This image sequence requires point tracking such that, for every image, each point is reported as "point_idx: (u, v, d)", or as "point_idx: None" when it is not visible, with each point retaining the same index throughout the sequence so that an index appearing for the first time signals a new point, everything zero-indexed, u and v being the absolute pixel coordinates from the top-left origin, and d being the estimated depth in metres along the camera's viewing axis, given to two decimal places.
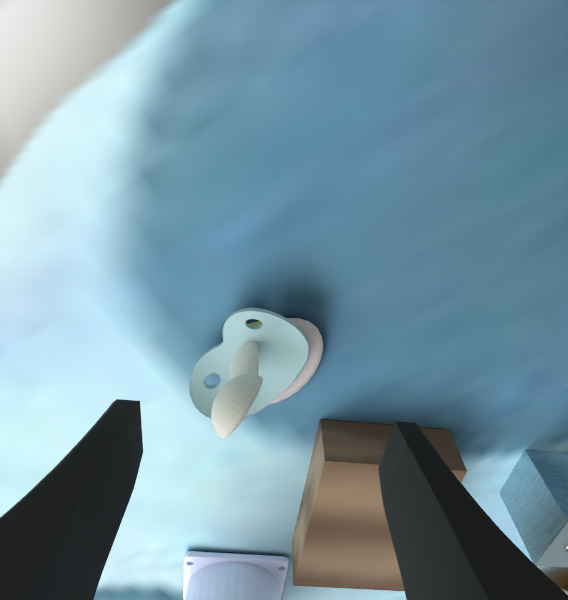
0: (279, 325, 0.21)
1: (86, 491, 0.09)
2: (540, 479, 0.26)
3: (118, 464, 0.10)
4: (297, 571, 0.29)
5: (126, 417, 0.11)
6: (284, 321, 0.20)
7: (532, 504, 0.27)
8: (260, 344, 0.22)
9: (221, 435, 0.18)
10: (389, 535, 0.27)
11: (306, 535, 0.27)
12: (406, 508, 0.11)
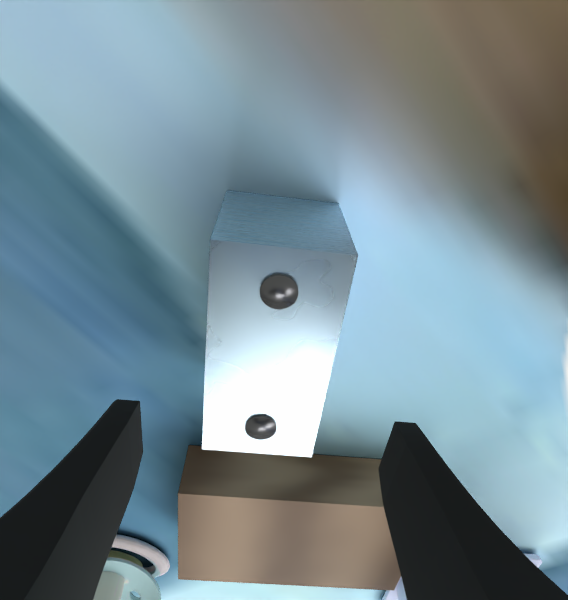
0: None
1: (86, 491, 0.09)
2: None
3: (118, 464, 0.10)
4: (365, 587, 0.26)
5: (126, 417, 0.11)
6: None
7: None
8: None
9: None
10: (299, 534, 0.23)
11: (297, 584, 0.26)
12: (406, 508, 0.11)
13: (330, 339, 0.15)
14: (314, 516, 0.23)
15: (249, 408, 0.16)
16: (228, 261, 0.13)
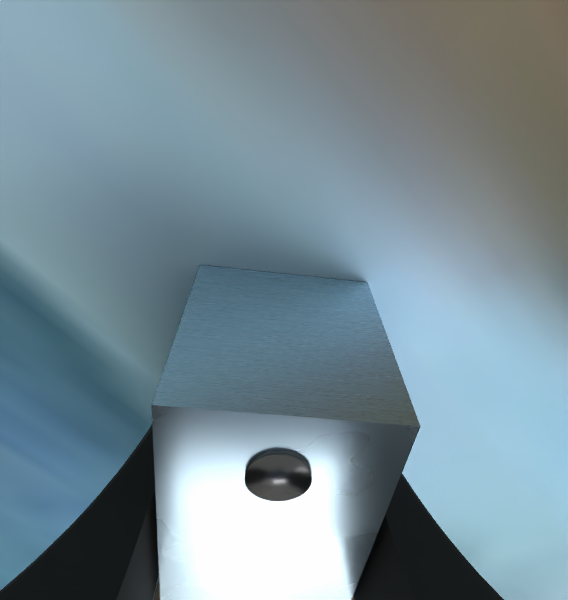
0: None
1: (153, 495, 0.09)
2: None
3: None
4: None
5: None
6: None
7: None
8: None
9: None
10: None
11: None
12: None
13: (363, 534, 0.09)
14: None
15: None
16: (187, 435, 0.07)
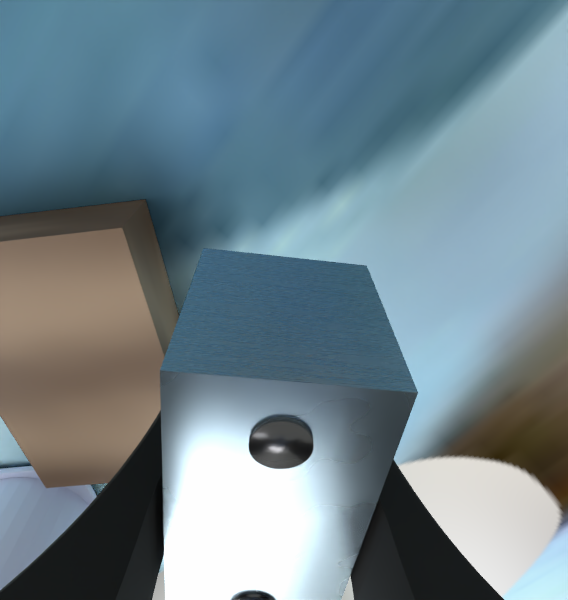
0: None
1: (152, 495, 0.09)
2: None
3: None
4: (32, 464, 0.21)
5: None
6: None
7: None
8: None
9: None
10: (104, 380, 0.18)
11: None
12: None
13: (363, 504, 0.09)
14: (146, 386, 0.18)
15: (234, 585, 0.11)
16: (193, 401, 0.08)
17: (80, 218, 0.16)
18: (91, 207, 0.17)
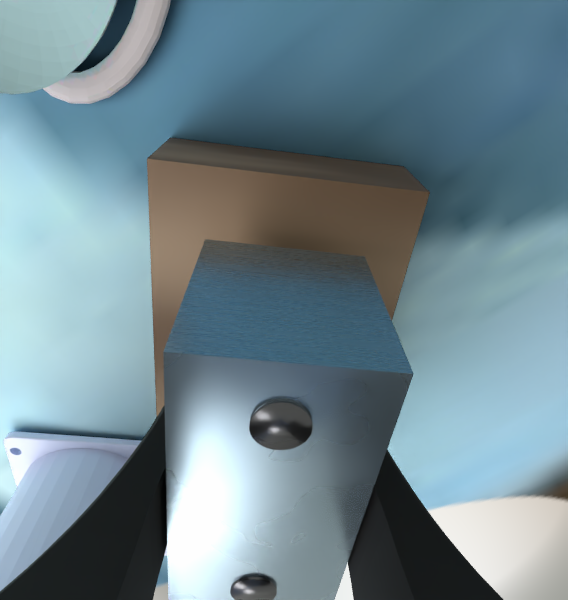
0: None
1: (153, 495, 0.09)
2: None
3: None
4: None
5: None
6: None
7: None
8: None
9: None
10: None
11: (155, 359, 0.16)
12: None
13: (361, 486, 0.09)
14: None
15: (236, 568, 0.11)
16: (195, 383, 0.08)
17: (351, 170, 0.14)
18: (344, 160, 0.15)
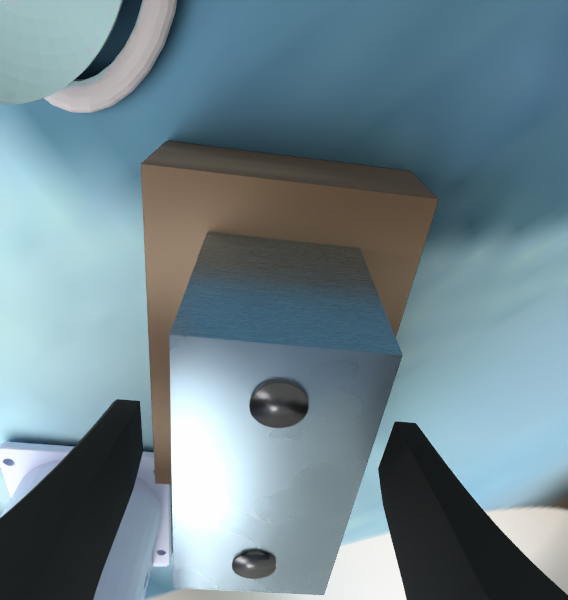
0: None
1: (86, 491, 0.09)
2: None
3: (118, 464, 0.10)
4: (155, 454, 0.17)
5: (126, 417, 0.11)
6: None
7: None
8: None
9: None
10: None
11: (151, 371, 0.15)
12: (406, 508, 0.11)
13: (354, 463, 0.10)
14: None
15: (237, 543, 0.11)
16: (199, 364, 0.08)
17: (356, 175, 0.13)
18: (348, 164, 0.14)
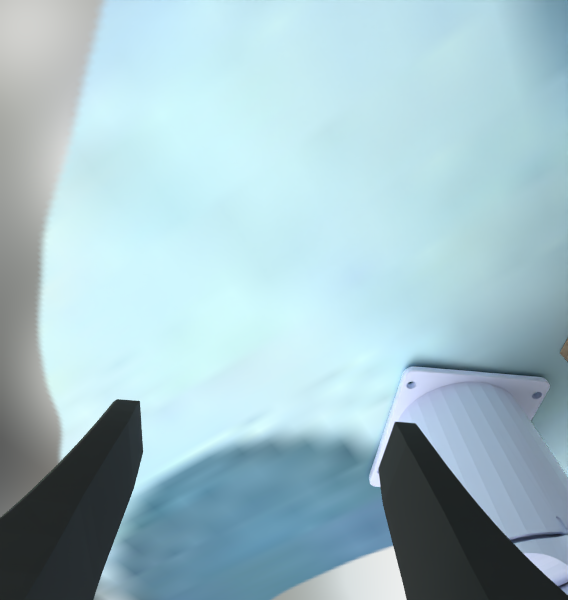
0: None
1: (86, 491, 0.09)
2: None
3: (118, 464, 0.10)
4: None
5: (126, 417, 0.11)
6: None
7: None
8: None
9: None
10: None
11: None
12: (406, 508, 0.11)
13: None
14: None
15: None
16: None
17: None
18: None
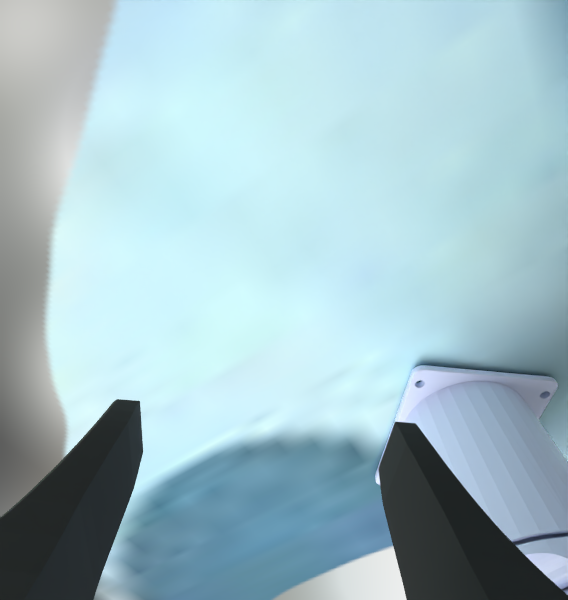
0: None
1: (86, 491, 0.09)
2: None
3: (118, 464, 0.10)
4: None
5: (126, 417, 0.11)
6: None
7: None
8: None
9: None
10: None
11: None
12: (406, 508, 0.11)
13: None
14: None
15: None
16: None
17: None
18: None
